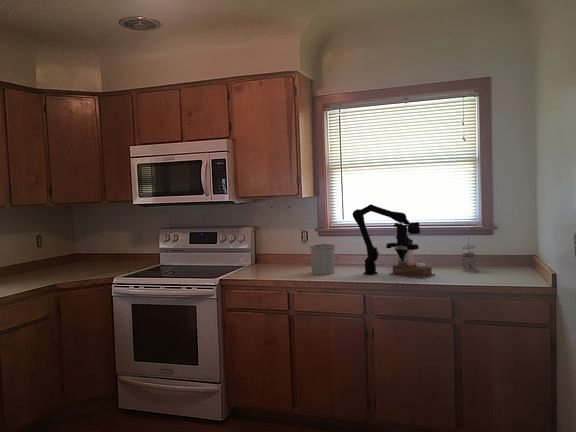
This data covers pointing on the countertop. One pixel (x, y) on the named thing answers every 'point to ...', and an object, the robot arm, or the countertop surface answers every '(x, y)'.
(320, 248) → the utensil holder
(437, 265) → the countertop surface
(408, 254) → the milk carton
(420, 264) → the knob
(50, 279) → the countertop surface
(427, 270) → the mount
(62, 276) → the countertop surface
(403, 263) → the knob
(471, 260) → the french press
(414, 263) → the knob mid
